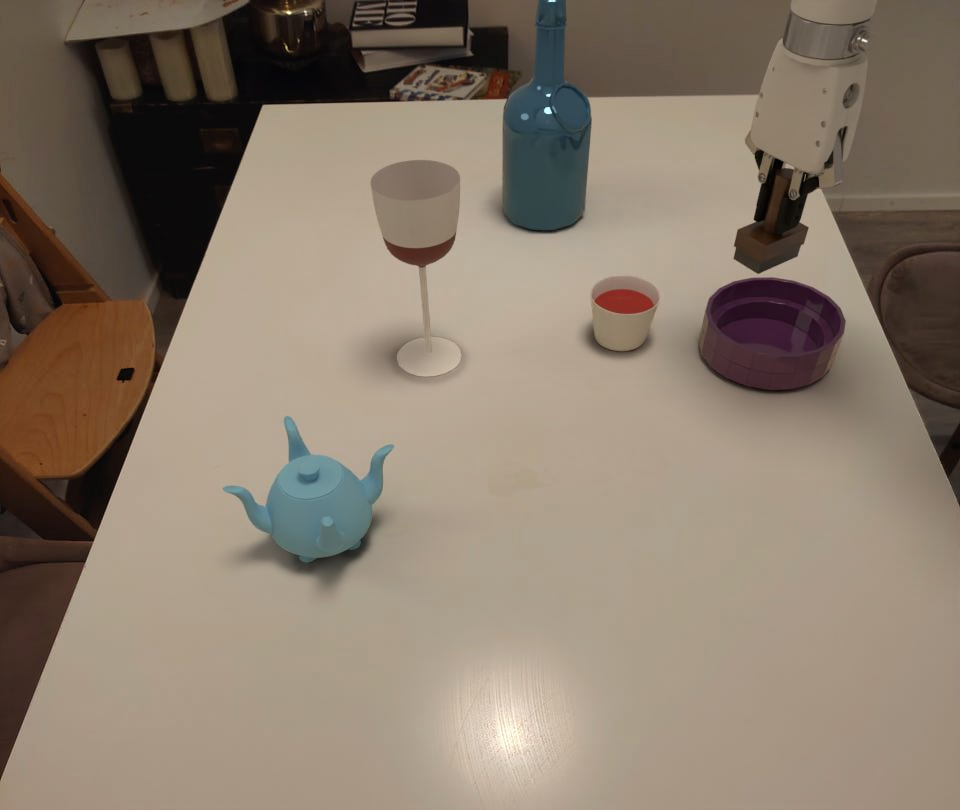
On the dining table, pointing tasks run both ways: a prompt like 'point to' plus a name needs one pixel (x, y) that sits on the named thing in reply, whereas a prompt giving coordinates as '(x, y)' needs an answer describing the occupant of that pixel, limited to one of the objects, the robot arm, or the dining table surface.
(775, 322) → the bowl
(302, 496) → the teapot
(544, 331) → the dining table surface
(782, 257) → the brush
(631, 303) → the candle
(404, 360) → the wineglass
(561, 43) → the wine bottle
